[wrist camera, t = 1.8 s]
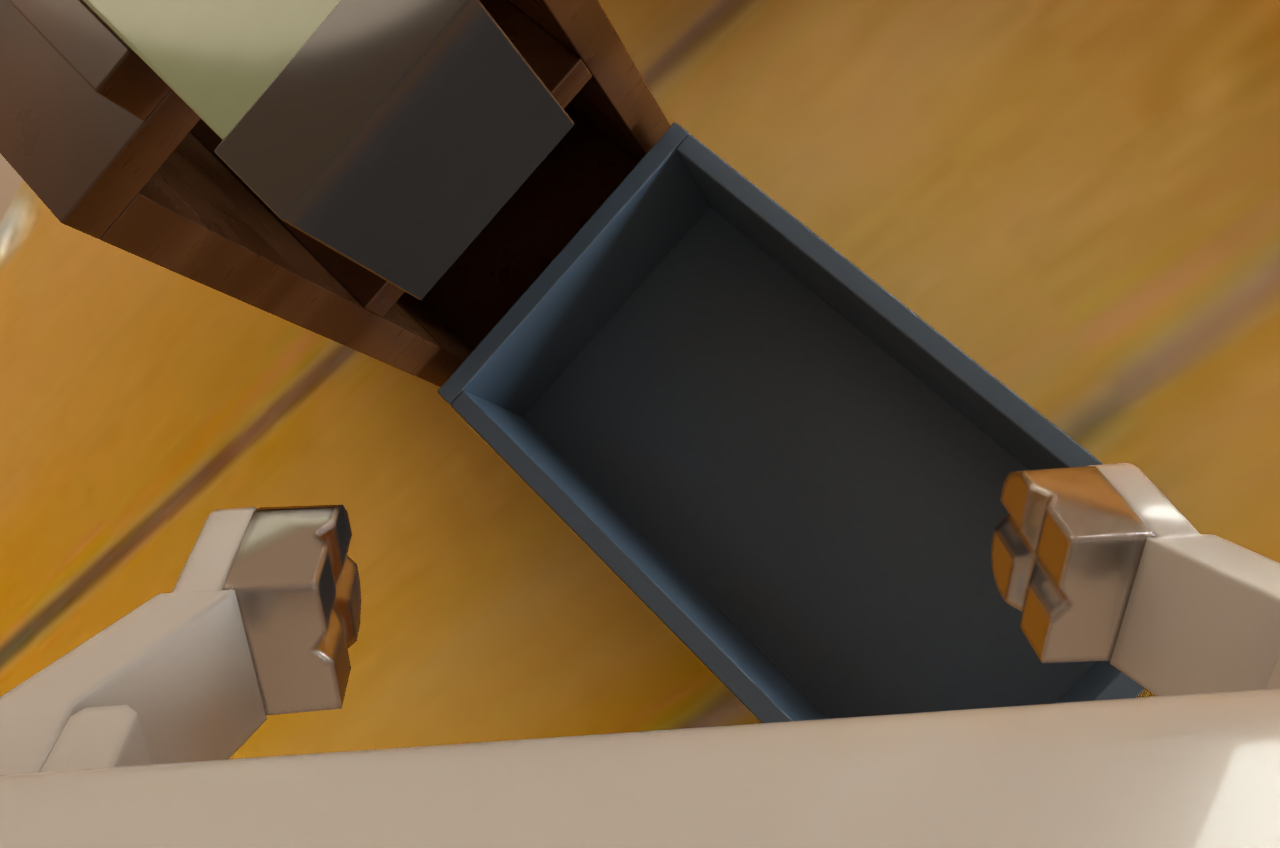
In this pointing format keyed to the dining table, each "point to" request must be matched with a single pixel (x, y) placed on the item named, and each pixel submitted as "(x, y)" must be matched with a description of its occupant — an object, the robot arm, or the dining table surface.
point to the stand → (252, 233)
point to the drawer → (358, 115)
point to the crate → (772, 453)
